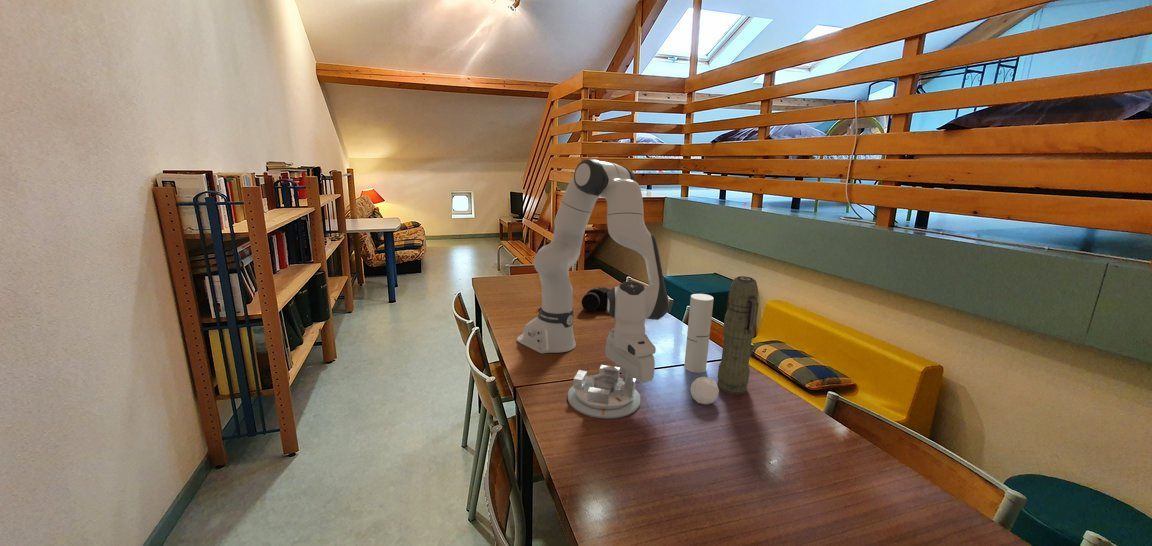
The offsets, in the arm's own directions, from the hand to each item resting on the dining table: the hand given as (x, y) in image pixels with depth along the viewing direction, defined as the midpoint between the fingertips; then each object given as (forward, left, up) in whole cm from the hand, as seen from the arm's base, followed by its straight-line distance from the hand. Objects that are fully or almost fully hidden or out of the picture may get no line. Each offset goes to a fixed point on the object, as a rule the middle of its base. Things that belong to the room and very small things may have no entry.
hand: (626, 382), depth 134 cm
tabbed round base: (-4, -6, -3) cm, 8 cm away
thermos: (+24, +24, -4) cm, 34 cm away
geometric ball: (+20, +10, -4) cm, 23 cm away
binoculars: (-42, +66, -4) cm, 79 cm away
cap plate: (-4, -6, -4) cm, 8 cm away
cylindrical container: (+10, +30, -4) cm, 32 cm away
